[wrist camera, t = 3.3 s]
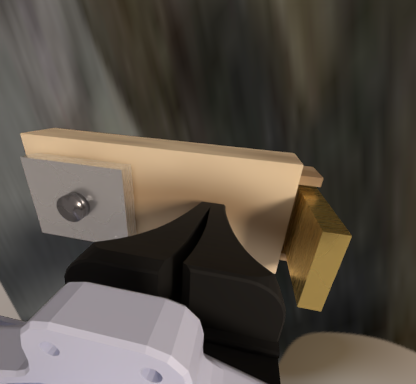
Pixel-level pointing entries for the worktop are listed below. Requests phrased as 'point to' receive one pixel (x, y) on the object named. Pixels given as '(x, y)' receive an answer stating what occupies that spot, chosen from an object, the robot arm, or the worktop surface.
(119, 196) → the lever cap
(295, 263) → the lever
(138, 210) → the board
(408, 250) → the worktop surface
